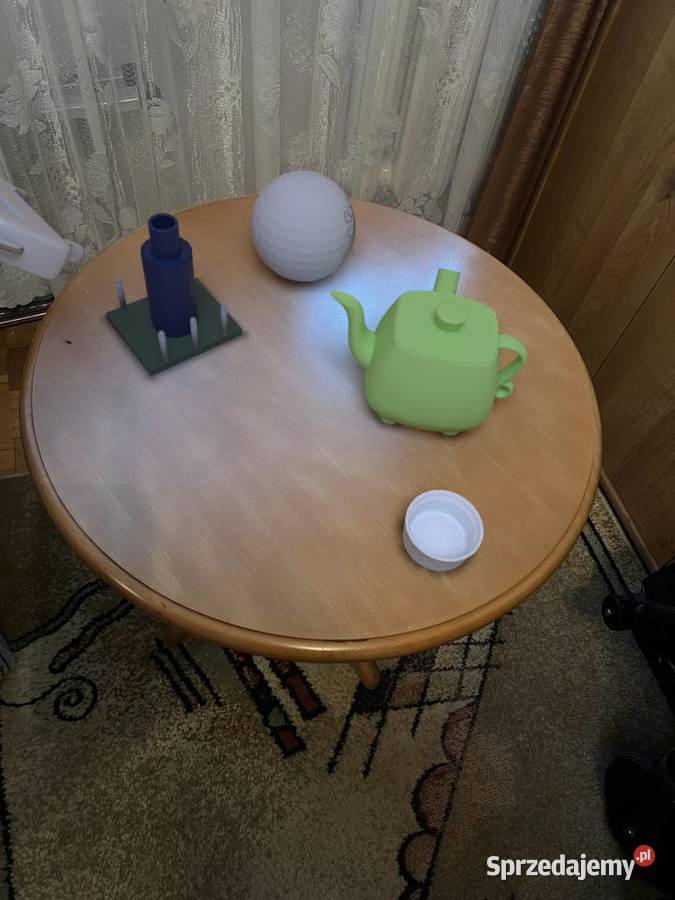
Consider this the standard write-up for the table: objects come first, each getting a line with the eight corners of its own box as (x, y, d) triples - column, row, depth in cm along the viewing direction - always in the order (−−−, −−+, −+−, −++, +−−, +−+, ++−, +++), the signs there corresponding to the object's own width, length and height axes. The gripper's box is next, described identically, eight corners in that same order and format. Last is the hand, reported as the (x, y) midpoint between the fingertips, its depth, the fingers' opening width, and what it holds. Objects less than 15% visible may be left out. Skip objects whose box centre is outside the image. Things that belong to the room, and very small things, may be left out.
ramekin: (485, 564, 75) (498, 547, 71) (416, 586, 72) (425, 570, 69) (452, 499, 79) (462, 481, 76) (386, 518, 77) (393, 500, 73)
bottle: (186, 343, 87) (175, 245, 73) (144, 330, 87) (126, 230, 74) (204, 313, 90) (197, 214, 77) (164, 301, 90) (150, 200, 77)
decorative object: (344, 310, 95) (358, 223, 83) (242, 294, 95) (241, 205, 82) (352, 244, 104) (366, 157, 92) (258, 230, 103) (260, 140, 91)
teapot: (500, 341, 96) (541, 254, 83) (500, 461, 83) (547, 380, 70) (333, 308, 95) (347, 216, 82) (308, 424, 83) (320, 336, 70)
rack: (150, 376, 84) (144, 342, 79) (106, 319, 89) (98, 283, 84) (242, 335, 90) (241, 300, 85) (196, 283, 95) (193, 247, 90)
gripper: (-5, 204, 50) (126, 257, 62) (-123, 82, 57) (15, 151, 69) (-41, 272, 51) (93, 311, 64) (-152, 146, 58) (-12, 203, 71)
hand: (52, 227), depth 67 cm, fingers open, 8 cm apart
